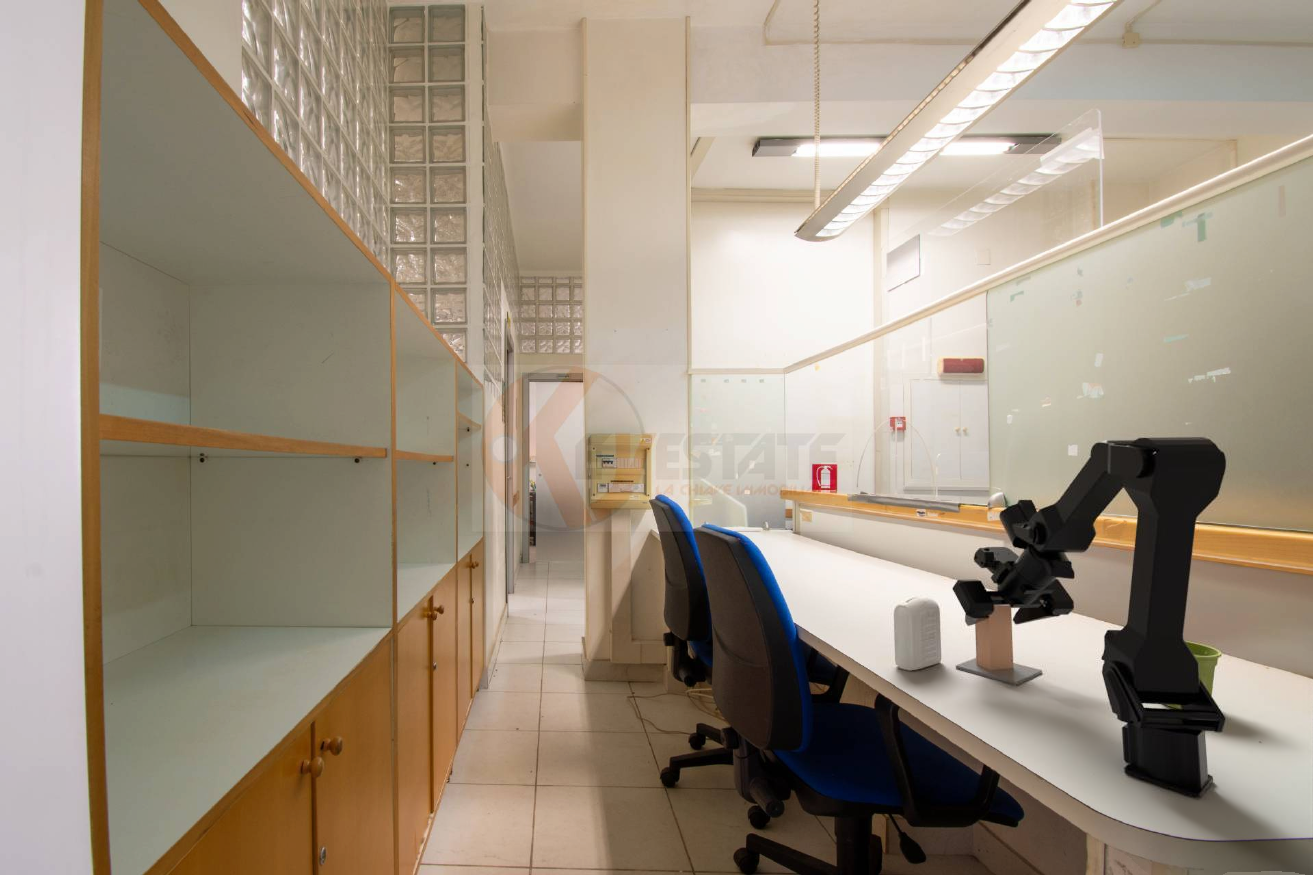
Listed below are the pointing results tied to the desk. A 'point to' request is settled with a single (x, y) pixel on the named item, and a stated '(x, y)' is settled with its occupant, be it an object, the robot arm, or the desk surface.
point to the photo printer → (917, 633)
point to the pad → (1001, 672)
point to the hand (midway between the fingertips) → (991, 622)
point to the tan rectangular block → (995, 640)
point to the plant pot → (1204, 664)
